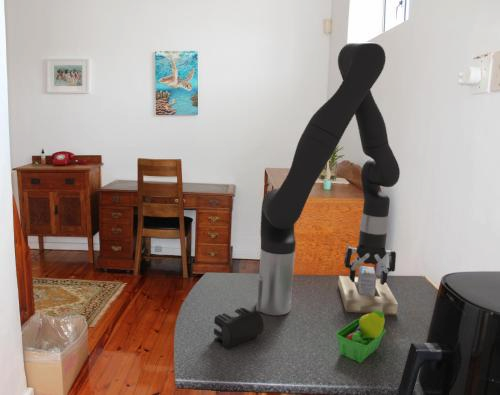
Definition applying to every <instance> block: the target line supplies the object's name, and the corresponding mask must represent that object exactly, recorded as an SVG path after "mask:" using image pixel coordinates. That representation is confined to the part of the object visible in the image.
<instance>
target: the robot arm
mask: <svg viewBox="0 0 500 395" xmlns="http://www.w3.org/2000/svg"><path fill="white" fill-rule="evenodd" d="M386 58H387V57H386V52H385V49H384V47H383V46H382V45H380V44H378V43H376V42H372V41H371V42H370V41H368V42H367V41H354V42H349V43H347V44H345V45H344V46H343V47H342V48H341V49H340V51H339V53H338V56H337V65H338V70H339V73H340V76H341V78H342V82H341V84H340V85H339V87H338V88H337V90H336V91H335V92H334V94H332V96H331V97H330V98H328V100H327V101H326V102H325V103H324V104H322V106H320V107H319V108H318V109H317V111H315V113H314V114H313V115H312V116H311V118H310V119H309V121H308V123H307V125H306V126H305V128H304V130H303V132H302V134H301V135H300V138H299V140H298V142H297V145H296V148H295V151H294V155H293V159H292V163H291V166H290V168H289V170H288V173H287V175H286V177H285V179H284V181H283V182H282V183H281V185H280V187H278V188H274V189H271V190H270V191H268V192H266V194H265V195H264V197H263V200H262V202H261V203H262V204H261V213H260V215H261V216H260V255H259V256H260V257H259V268H258V269H259V270H258V271H259V272H258V280H257V281H258V282H257V294H256V295H257V296H256V310H255V311H257V312H259V313H260V312H261V313H263V314H265V315H270V316H283V315H287V314H288V313H289V312H291V305H292V292H293V280H294V279H293V278H294V267H295V255H296V245H297V244H296V242H297V241H296V237H295V224H296V223H297V222H298V220H299V219H300V217H301V215H302V213H303V210H304V208H305V205H306V204H307V201H308V199H309V197H310V193H311V192H312V190H313V187H314V185H315V184H316V182H317V180H319V177H320V176H321V174H322V172H323V170H324V169H325V167H326V166H327V163H328V162H329V161H330V158H331V157H332V155H333V154H334V152H335V150H336V148H337V146H338V144H339V143H340V141H341V139H342V137H343V135H344V133H345V132H346V130H347V128H348V126H349V124H350V123H351V121H352V120H353V117H354V116H355V119H356V124H357V128H358V133H359V139H360V143H361V148H362V152H363V153H364V155H365V156H367V157H370V158H369V159H367V160H366V161H365V163H363V165H362V168H361V171H360V172H361V174H360V178H361V179H360V180H361V186H362V192H363V208H362V215H361V220H360V224H359V234H358V236H359V237H358V243H357V244H358V245H357V247H352V246H350V245H347V246H346V249H345V250H346V251H345V256H344V262H343V264H344V267H345V268H346V269H349V275H348V276H349V278H350V280H351V281H352V282H354V281H355V277H356V272H357V271H356V269H357V268H358V267H360V266H362V264H363V263H364V265H369V264H371V265H376V264H378V265H379V266H380V268H381V269H382V270H381V272H380V278H379V279H380V283H381V285H384V283H386V284H387V280H388V273H391V272H395V271H396V258H397V253H396V251H395V250H394V249H393V248H391V249H389V250H387V249H386V244H387V243H386V242H387V235H388V227H389V212H390V205H391V204H390V202H391V200H390V197H389V196H388V194H385V193H384V192H382V190H381V187H383V188H391V187H394V186H395V185H396V184H397V183H398V182H399V179H400V174H401V171H400V166H399V162H398V160H397V158H396V156H395V154H394V152H393V150H392V147H391V146H390V143H389V138H388V131H387V126H386V122H385V119H384V117H383V114H382V113H381V111H380V109H379V106H378V104H377V103H376V101H375V99H374V96H373V93H372V91H371V89H372V88H373V87H374V84H375V83H376V82H377V80H378V79H379V77H380V76H381V74H382V73H383V70H384V67H385V64H386ZM355 253H356V254H357V256H356V257H355V258H354V260H353V261H352V262H351V259H352V256H353V255H354V254H355ZM386 255H387V258H388V259H389V260H388V265H386V264H385V262H384V261H383V259H384V257H385V256H386Z"/></svg>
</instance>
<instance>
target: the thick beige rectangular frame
mask: <svg viewBox="0 0 500 395" xmlns="http://www.w3.org/2000/svg"><path fill="white" fill-rule="evenodd" d="M357 283H358V276H355V281H354V282H352V281H351V280H350V278H349V275H347V276H346V275H338V284H337V287H338V291H339V293H340V295H339V296H340V297H341V301H342V304H343V307H344V311H345V312H348V313H349V312H350V313H360V314H361V313H362V314H370V313H373V311H375V310H379V311H381V312H383V314H384V316H392V317H393V316H394V317H395V316H396V317H397V313H398V308H399V304H398V301H397V299H396V297H395V296H394V294H393V292H392V291H391V289H390V288H389V286H388V284H387V282H386V283H384V285H381V283H380V278H376V287H375V296H365V295H359V294H358V291H357Z"/></svg>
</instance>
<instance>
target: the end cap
mask: <svg viewBox="0 0 500 395" xmlns="http://www.w3.org/2000/svg"><path fill="white" fill-rule="evenodd" d="M234 313H236V314H238V316H231V315H229V314H227V313H226V312H225V313H222V314H218V315H216V316H214V321H213V323H214V325H216V326H218V327H219V328H220V329H217V328H216V327H214V329H213V335H215V337H214V341H215V342H216V343H217V344H219V346H221V347H223V348H225V349H227V348H229V347H233V346H235V345H237V344H240V343H243V342H246V341H248V340H252V339H254V338H257V337H259V336H261V335H262V333H263V332H264V330H265V324H264V318H263V316H262V315H261V313H260V312H259V311H256V310H254V311H250V310H248V309H246V308H245V307H240V308H238V309H235V310H234Z"/></svg>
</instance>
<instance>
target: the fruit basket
mask: <svg viewBox="0 0 500 395" xmlns="http://www.w3.org/2000/svg"><path fill="white" fill-rule="evenodd" d="M385 321H386V320H385V315H384V314H383V312H381V311H379V310H375V311H373V313H365V314H364V315H362V316H361V317H359V318H357V319H355V320H354V321H352V322H351V323H349V324H348V325H346V326H345V327H343V328H342V329H341V330H339V331H337V332H336V334H335V335H336V339H337V342H338V347H339V348H338V349H339V353H340V355H341V356H345V357H347V358H348V359H351V360H354V361H356V362H358V363H363V361H364V360H365V359H366V358H368V357H369V356H370V355H371V354H372V353H373V352H374V351H376V350H377V349H378V348H379V345H380V343H381V341H382V338H383V336H384V335H385V333H386V331H387V330H386V328H384V327H385V326H384V325H385Z"/></svg>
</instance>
